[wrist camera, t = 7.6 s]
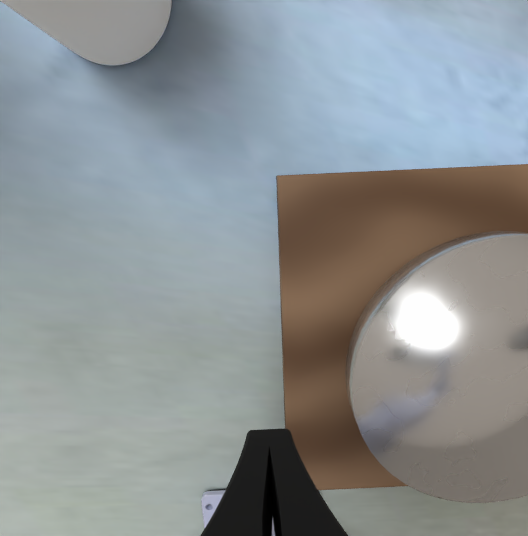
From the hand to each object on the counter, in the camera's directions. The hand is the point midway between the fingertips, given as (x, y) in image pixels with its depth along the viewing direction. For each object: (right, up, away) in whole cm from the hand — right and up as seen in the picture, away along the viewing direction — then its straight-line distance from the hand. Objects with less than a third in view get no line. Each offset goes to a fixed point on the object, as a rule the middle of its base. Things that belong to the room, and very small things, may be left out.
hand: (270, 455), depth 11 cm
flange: (+12, +2, +6) cm, 14 cm away
